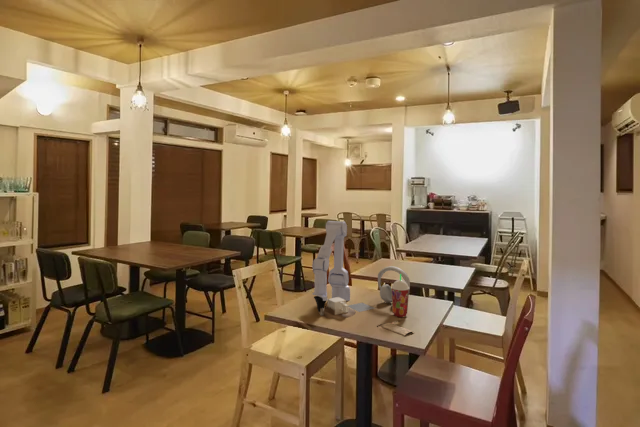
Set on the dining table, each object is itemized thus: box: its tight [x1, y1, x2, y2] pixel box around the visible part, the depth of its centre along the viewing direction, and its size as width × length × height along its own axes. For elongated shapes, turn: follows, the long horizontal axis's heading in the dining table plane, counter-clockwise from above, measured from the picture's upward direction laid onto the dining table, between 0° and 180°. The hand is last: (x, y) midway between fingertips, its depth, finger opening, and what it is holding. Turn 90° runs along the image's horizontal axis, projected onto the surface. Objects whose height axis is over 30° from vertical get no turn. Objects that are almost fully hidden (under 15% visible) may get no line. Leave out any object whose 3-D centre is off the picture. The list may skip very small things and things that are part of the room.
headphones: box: [377, 265, 411, 304], centre depth 202 cm, size 18×8×20 cm, turn 50°
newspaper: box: [377, 321, 414, 337], centre depth 171 cm, size 24×7×2 cm, turn 37°
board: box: [348, 302, 376, 313], centre depth 189 cm, size 30×20×1 cm, turn 121°
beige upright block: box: [327, 297, 350, 315], centre depth 184 cm, size 12×6×6 cm, turn 32°
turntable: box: [317, 305, 357, 320], centre depth 186 cm, size 18×18×4 cm
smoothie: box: [391, 274, 410, 318], centre depth 184 cm, size 8×8×20 cm
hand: (320, 311), depth 184 cm, fingers closed
